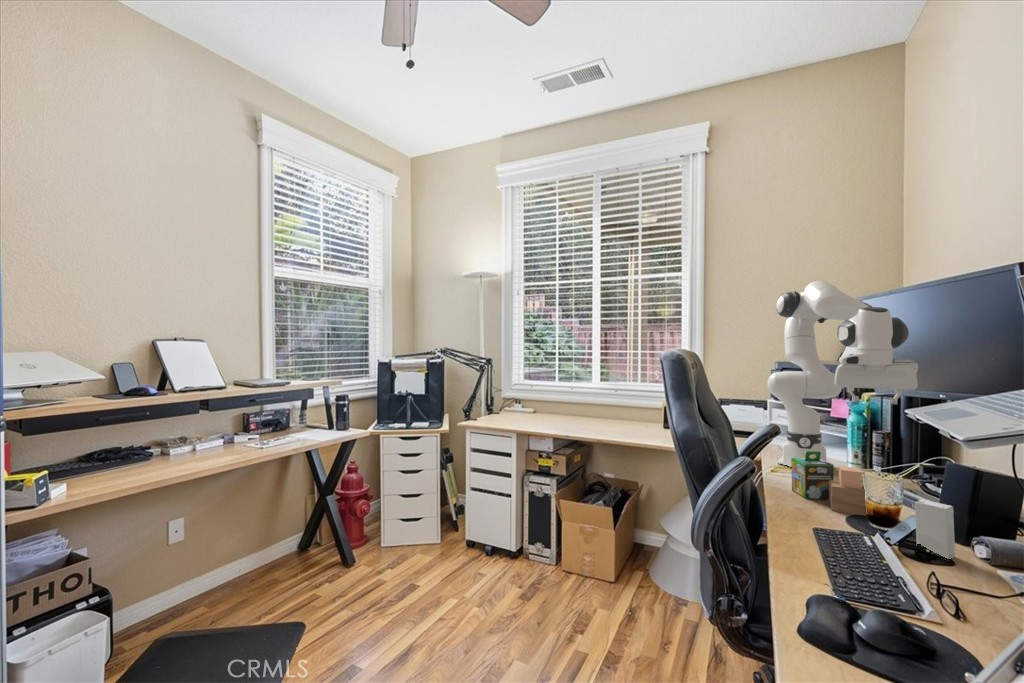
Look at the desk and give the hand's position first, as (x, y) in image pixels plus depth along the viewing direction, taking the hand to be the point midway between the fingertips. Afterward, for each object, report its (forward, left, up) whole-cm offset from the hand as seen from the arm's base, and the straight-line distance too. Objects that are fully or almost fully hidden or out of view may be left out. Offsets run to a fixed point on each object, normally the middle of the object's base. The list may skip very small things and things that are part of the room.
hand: (874, 402), depth 141 cm
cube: (+8, -7, -25) cm, 27 cm away
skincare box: (+34, +6, -32) cm, 47 cm away
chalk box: (-2, -16, -32) cm, 36 cm away
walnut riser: (+8, -7, -32) cm, 34 cm away
